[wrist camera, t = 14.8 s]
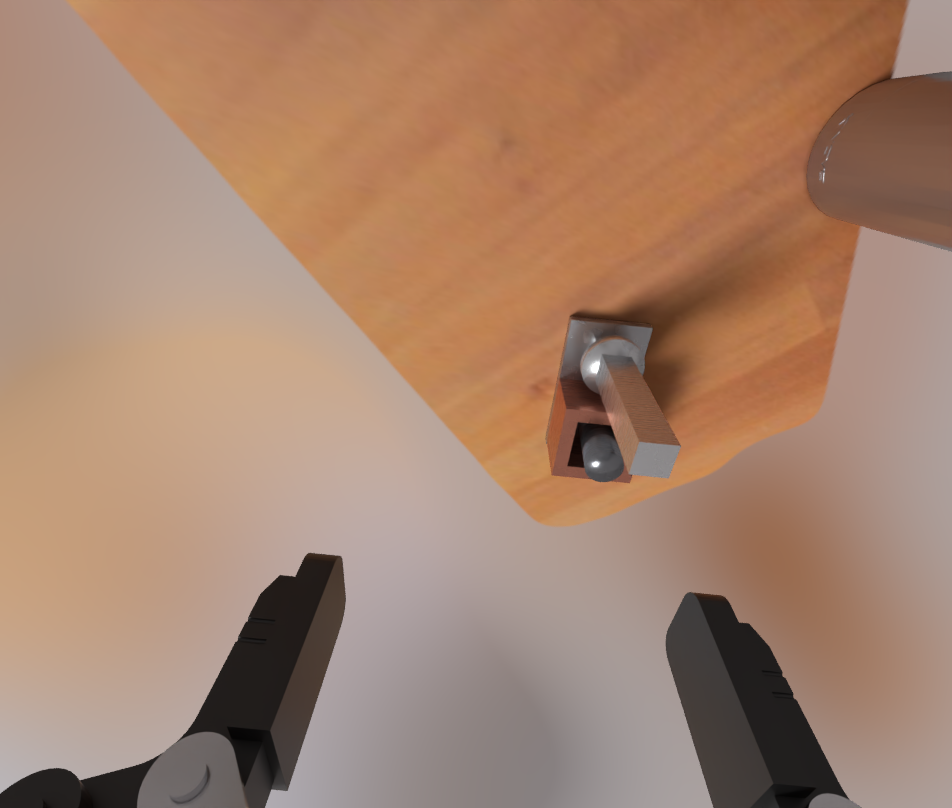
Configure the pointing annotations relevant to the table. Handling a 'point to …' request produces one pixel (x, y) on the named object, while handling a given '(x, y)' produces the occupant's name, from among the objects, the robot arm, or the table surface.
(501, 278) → the table surface
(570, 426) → the grey and brown stand
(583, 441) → the pin
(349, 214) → the table surface
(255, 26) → the table surface
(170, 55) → the table surface
